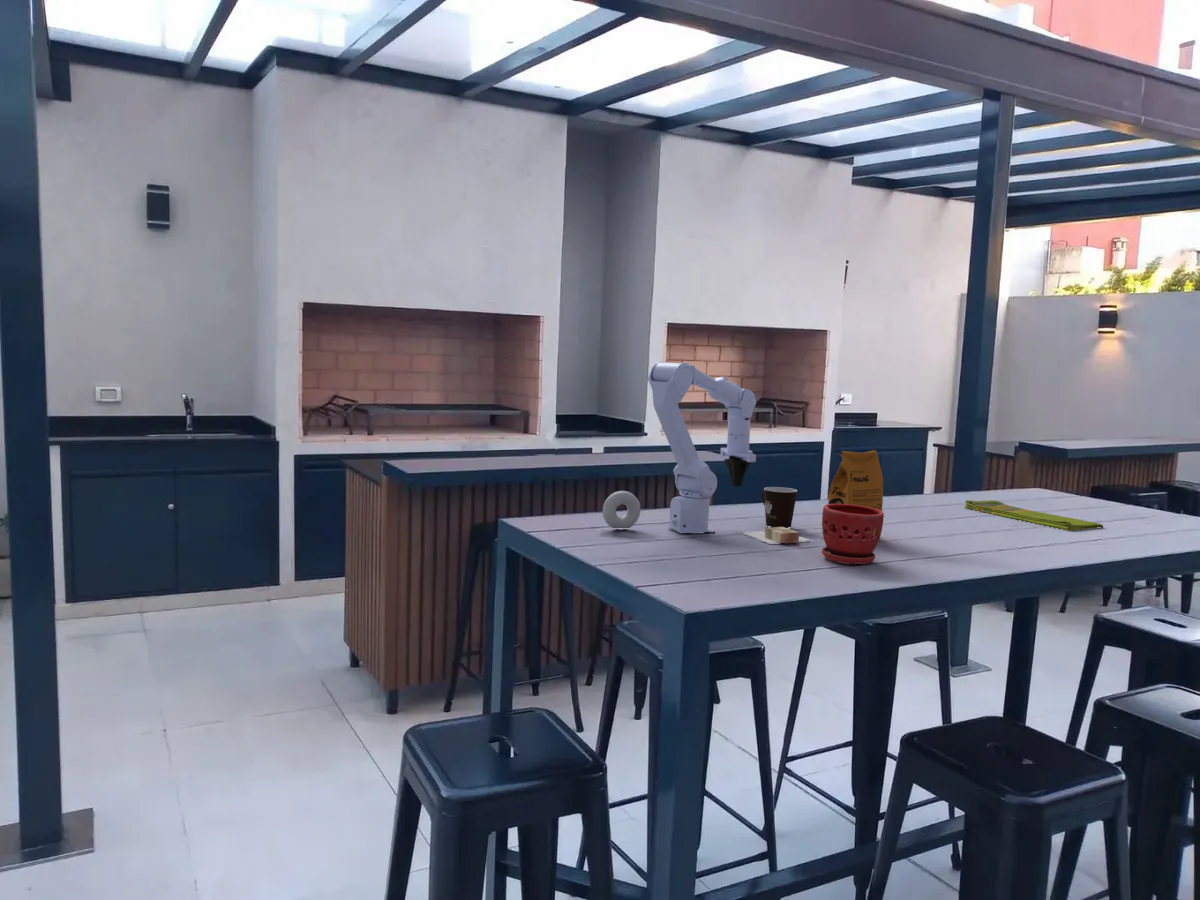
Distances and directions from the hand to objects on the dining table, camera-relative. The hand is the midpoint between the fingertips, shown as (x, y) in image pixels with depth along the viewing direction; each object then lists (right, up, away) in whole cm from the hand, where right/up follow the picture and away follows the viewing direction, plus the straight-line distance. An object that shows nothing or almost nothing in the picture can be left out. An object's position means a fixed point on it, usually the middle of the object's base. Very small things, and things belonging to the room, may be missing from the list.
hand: (736, 485), depth 241 cm
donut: (-31, -11, -10) cm, 34 cm away
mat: (+8, -12, -14) cm, 20 cm away
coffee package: (+28, -13, -10) cm, 32 cm away
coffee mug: (+11, -11, +2) cm, 16 cm away
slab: (+7, -11, -15) cm, 19 cm away
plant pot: (+20, -16, -36) cm, 44 cm away
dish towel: (+90, -11, +27) cm, 95 cm away
